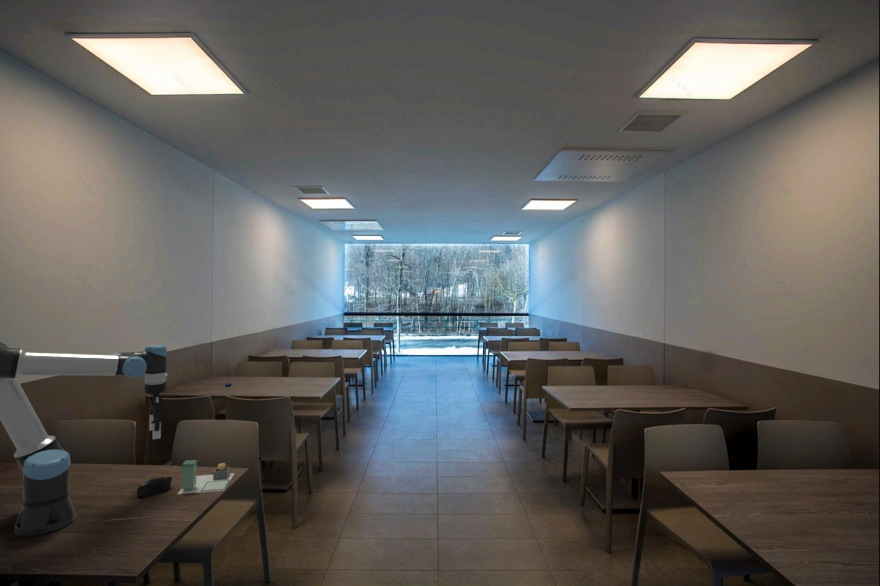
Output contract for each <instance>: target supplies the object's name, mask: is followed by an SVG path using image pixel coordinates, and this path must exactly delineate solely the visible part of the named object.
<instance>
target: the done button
mask: <svg viewBox="0 0 880 586" xmlns="http://www.w3.org/2000/svg"><path fill="white" fill-rule="evenodd" d="M217 467H218V471H225V469H226V467H227V466H226V463H225V462H221V463H217Z"/></svg>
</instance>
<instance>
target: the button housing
mask: <svg viewBox="0 0 880 586" xmlns="http://www.w3.org/2000/svg"><path fill="white" fill-rule="evenodd" d="M230 468H231V467H230V466H226V469H225V471H218V466H217V467H216V468H215V469H214V471H213V472H212V475H213V480H218V479H227V477H228V476H229V474H231V473H230V471H231V470H230Z"/></svg>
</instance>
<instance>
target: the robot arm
mask: <svg viewBox="0 0 880 586" xmlns="http://www.w3.org/2000/svg"><path fill="white" fill-rule="evenodd" d="M167 361H168V355H167V347H166V345H164V344H151V345H147V346H145V349H144V350H142V351H128V352H121V351H120V352H116V353H115V352H114V353H110V354H93V353H92V354H87V353H64V352H37V351H36V352H35V351H34V352H33V351H25V350H24V349H22V348H16V347H8V345H6V344H5V343H4V342H2V341H0V422H1V424H2V426H3V428H4V429H5V431H6V432H7V435H8V437H9V438H10V440H11V442H12V443H13V445H14V447H15V448H16V450H15V451H14V454H13V457H14V459H15V461H16V462H17V465H18V467H19V468H20V469H21V472H22V481H23V482H22V508H21V510H20V512H19V515H18V517H17V519H16V522H15V524H14V534H15V535H16V536H18V537H23V538H24V537H36V536H41V535H42V536H43V535H45V534H49V533H51V532H52V533H53V532H56V531H57V530H60V529H63V528H64V527H67V526H69V524H71V523H72V522H74V520H75V518H76V510H75V507H74V505H73V502H72V500H71V498H70V469H71V468H70V466H71V457H70V453H69V452H68V451H66V450H65V449H64V448H62V447H61V445H60V443H59V441H58V439H57V437H56V436H54V435H50V434H49V435H48V432H47V431H46V430H45V427H44V426H43V423H42V422H41V420H40V418H39V416H38V415H37V412H36V411H35V409H34V407H33V405H32V403H31V402H30V400H29V398H28V396H27V395H26V393H25V391H24V388H23V387H22V385H21V383H20V381H19V380H18V377H20V376H94V377H95V376H99V377H100V376H101V377H102V376H106V377H107V376H112V377H114V376H117V377H128V378H138V377H140V376H142V375H144V383H145V384H144V393H145V395H146V394H147V395H149V399H148V400H149V407H148V408H149V410H148V412H149V413H148V414H149V421H148V422H149V431H152V440H157V439H161V438H162V437H161V436H162V421H163V420H162V419H163V418H162V398H163V397H162V396H161V395H160V394H162V393H165V392H166V391H167V382H166V381H167V377H168V376H169V374H168V373H167V364H168V363H167Z"/></svg>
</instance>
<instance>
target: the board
mask: <svg viewBox="0 0 880 586" xmlns="http://www.w3.org/2000/svg"><path fill="white" fill-rule="evenodd" d="M234 475H235V473H234V472H233V473H230V474H229V476H228V477H227V479H218V480H213V474H203V475H196V485H195V487H194V489H192V490H189V491H185V490H184V489H182V488H180V490H179V491H178V492H177V495H184V494H195V493H196V494H198V493H209V492H222V491H226V489H227V488H228V485H229V484H230V482H231V480H232V478H233V477H234Z"/></svg>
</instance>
